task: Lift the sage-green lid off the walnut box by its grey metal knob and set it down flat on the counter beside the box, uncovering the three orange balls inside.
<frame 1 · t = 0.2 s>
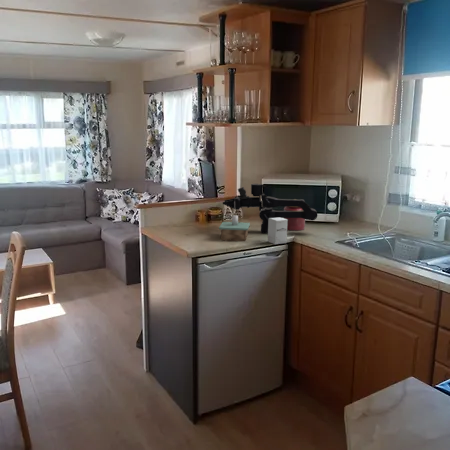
hand: (223, 202, 270), 17 cm above the worktop, tool horizontal, fingers open, 9 cm apart
ball a: (239, 232, 258), point 3 cm above the worktop, touching box
canister: (293, 228, 282), on the worktop
lid: (234, 226, 256), point 6 cm above the worktop, touching box
box: (234, 237, 257), on the worktop
supplement box: (277, 242, 248), on the worktop
ball b: (229, 233, 254), point 3 cm above the worktop, touching box
ball c: (230, 231, 259), point 3 cm above the worktop, touching box
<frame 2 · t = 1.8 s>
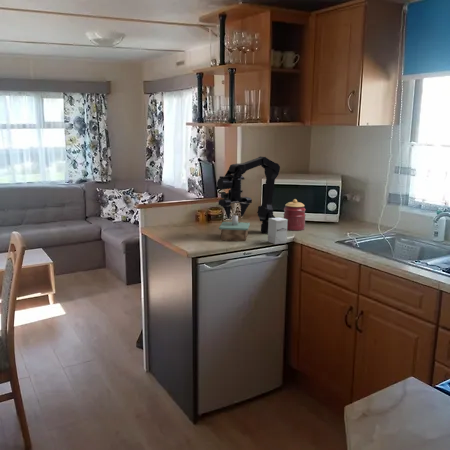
hand: (235, 217, 255), 11 cm above the worktop, tool pointing down, fingers open, 9 cm apart
nothing on the worktop moved.
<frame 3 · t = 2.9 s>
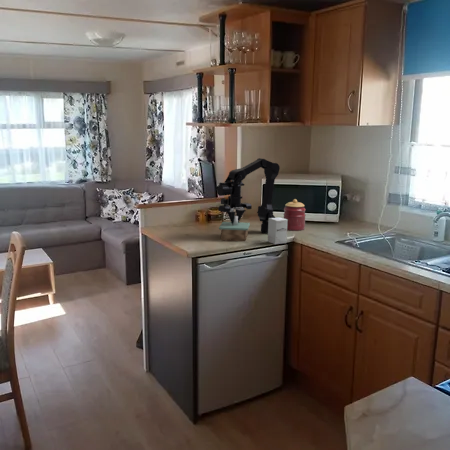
hand: (234, 223, 255), 8 cm above the worktop, tool pointing down, fingers closed on lid, 3 cm apart
lid: (234, 226, 256), point 6 cm above the worktop, touching box, gripper
everything else where it was.
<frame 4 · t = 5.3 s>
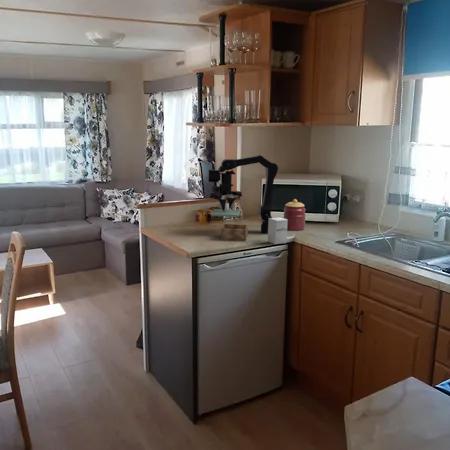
hand: (225, 210, 265), 13 cm above the worktop, tool pointing down, fingers closed on lid, 3 cm apart
lid: (225, 213, 265), point 11 cm above the worktop, touching gripper
everything else where it was.
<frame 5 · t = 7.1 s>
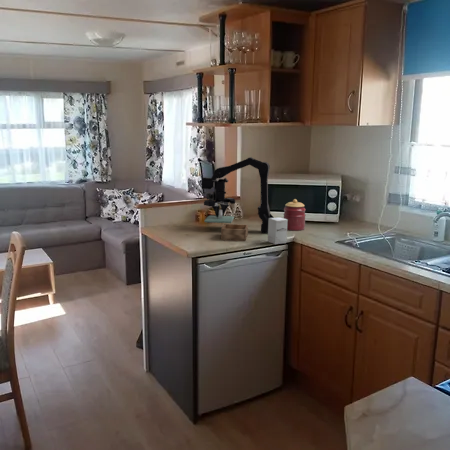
hand: (219, 216, 274), 8 cm above the worktop, tool pointing down, fingers closed on lid, 3 cm apart
lid: (219, 220, 275), point 6 cm above the worktop, touching gripper
everything else where it was.
when the fingers open (3 cm above the worktop, at t = 8.1 s): lid drops 2 cm, on the worktop.
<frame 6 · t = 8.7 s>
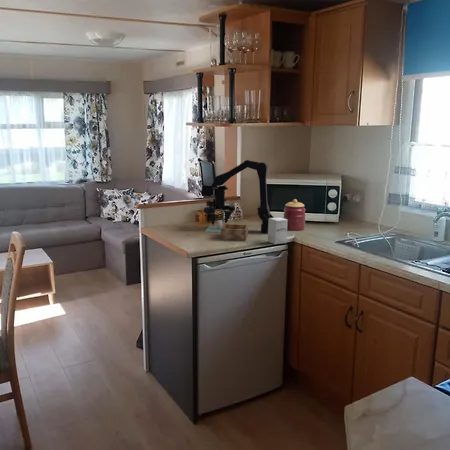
hand: (219, 223, 275), 3 cm above the worktop, tool pointing down, fingers open, 9 cm apart
lid: (219, 230, 276), on the worktop
everything else where it was.
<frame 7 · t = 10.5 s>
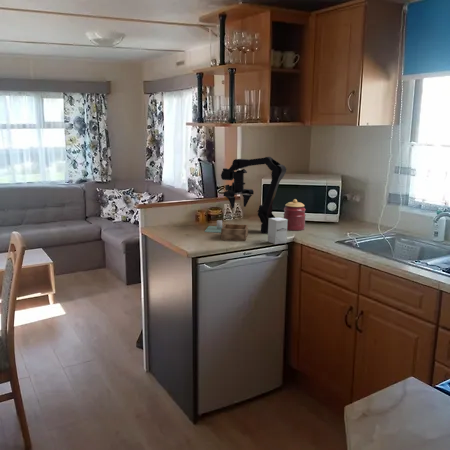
hand: (238, 207, 277), 13 cm above the worktop, tool pointing down, fingers open, 9 cm apart
nothing on the worktop moved.
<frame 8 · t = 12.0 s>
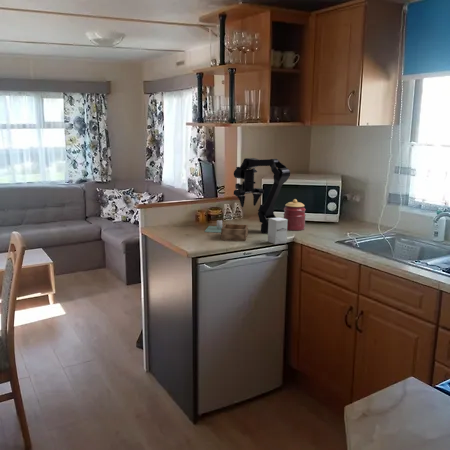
hand: (248, 206, 279), 13 cm above the worktop, tool pointing down, fingers open, 9 cm apart
nothing on the worktop moved.
at the end: lid inside the target area (0.0 cm from its centre), on the worktop; lid tilted 0°; the gripper is holding nothing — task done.
